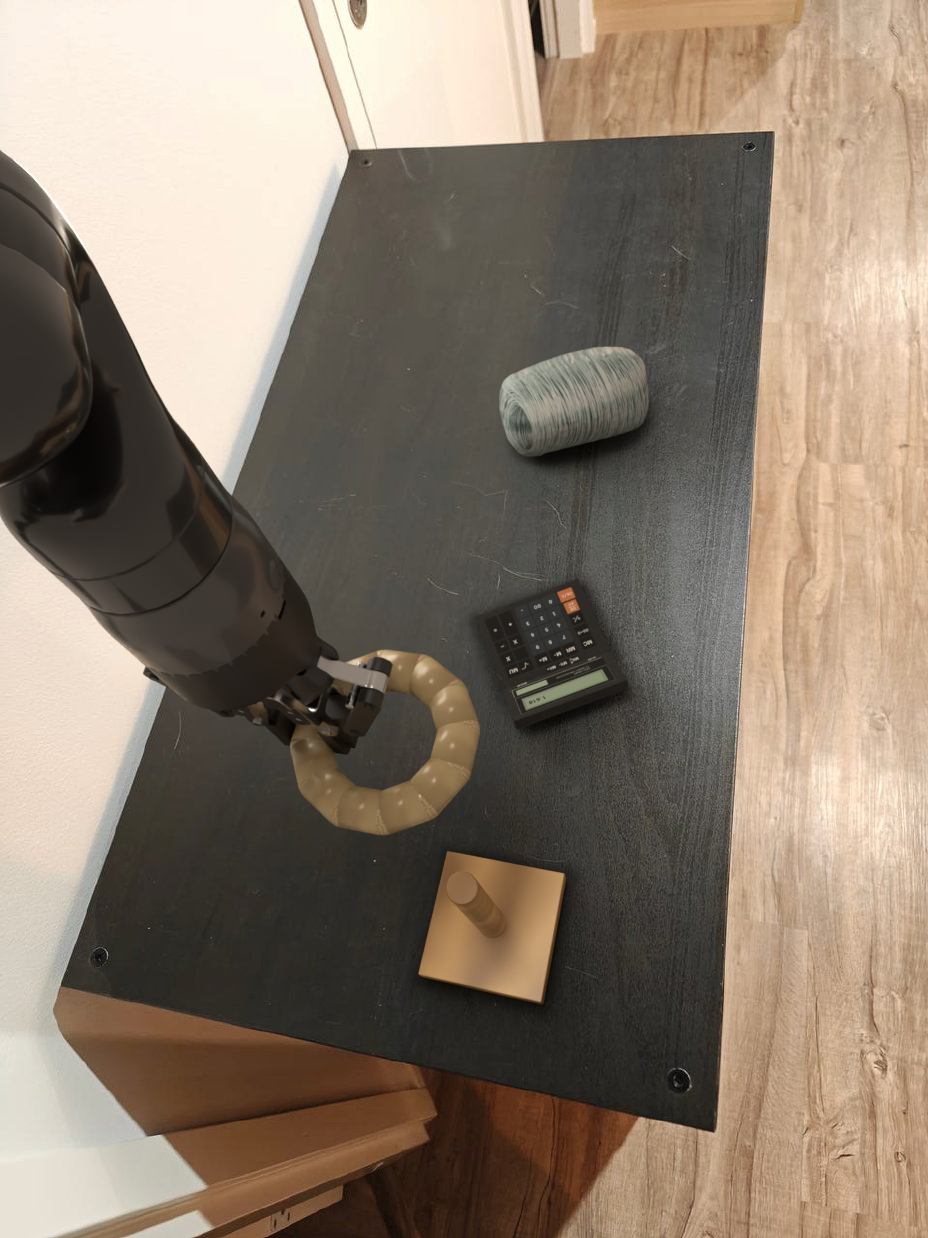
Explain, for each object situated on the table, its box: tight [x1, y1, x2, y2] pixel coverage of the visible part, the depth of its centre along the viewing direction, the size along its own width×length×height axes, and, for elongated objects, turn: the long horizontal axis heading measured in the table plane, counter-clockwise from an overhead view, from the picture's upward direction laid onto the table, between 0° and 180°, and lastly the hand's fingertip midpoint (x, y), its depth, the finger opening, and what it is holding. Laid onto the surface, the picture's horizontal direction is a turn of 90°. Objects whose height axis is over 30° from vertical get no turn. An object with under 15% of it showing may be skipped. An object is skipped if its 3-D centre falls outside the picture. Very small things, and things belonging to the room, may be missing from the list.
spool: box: [498, 345, 650, 458], centre depth 86 cm, size 14×10×10 cm
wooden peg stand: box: [418, 850, 567, 1006], centre depth 64 cm, size 9×9×14 cm
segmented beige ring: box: [289, 649, 481, 836], centre depth 54 cm, size 11×11×2 cm
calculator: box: [475, 578, 630, 730], centre depth 77 cm, size 9×12×3 cm
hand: (322, 734), depth 56 cm, fingers closed on segmented beige ring, 2 cm apart
